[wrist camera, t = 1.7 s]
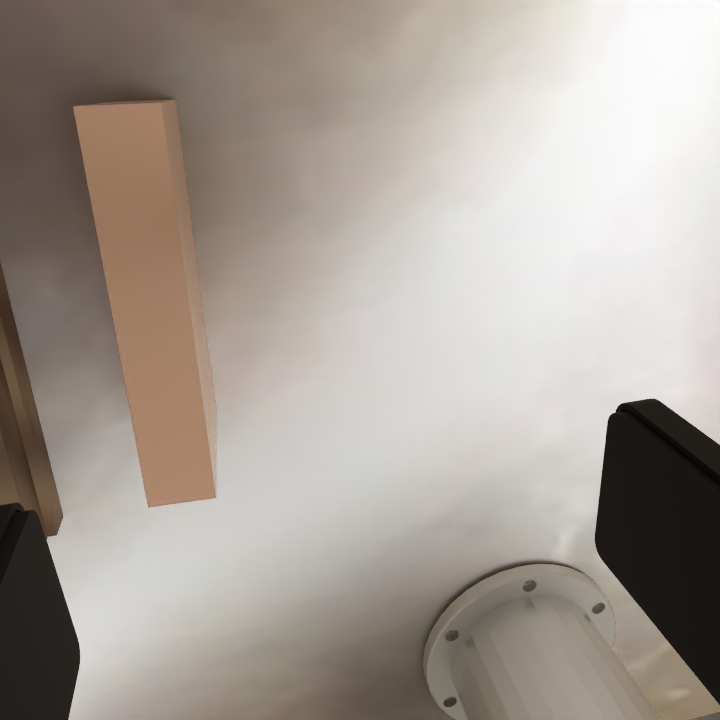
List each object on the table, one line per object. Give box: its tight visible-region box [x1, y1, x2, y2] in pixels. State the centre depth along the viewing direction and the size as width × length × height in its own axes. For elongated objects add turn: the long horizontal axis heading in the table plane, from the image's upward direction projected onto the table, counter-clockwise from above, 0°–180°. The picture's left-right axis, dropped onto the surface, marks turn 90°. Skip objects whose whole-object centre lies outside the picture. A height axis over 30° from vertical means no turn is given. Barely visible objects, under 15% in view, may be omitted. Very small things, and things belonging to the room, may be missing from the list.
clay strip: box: [73, 99, 216, 507], centre depth 26 cm, size 14×2×8 cm, turn 2°
